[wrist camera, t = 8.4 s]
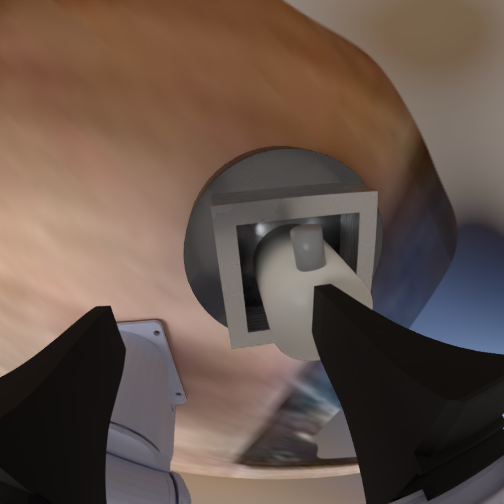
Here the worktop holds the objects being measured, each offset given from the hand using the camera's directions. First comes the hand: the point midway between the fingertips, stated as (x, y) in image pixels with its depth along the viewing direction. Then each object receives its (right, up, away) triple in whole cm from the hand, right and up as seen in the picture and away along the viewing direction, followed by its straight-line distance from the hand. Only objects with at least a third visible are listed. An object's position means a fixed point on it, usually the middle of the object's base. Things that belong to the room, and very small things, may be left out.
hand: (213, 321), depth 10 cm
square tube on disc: (+3, +3, +10) cm, 11 cm away
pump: (+4, +2, +7) cm, 8 cm away
